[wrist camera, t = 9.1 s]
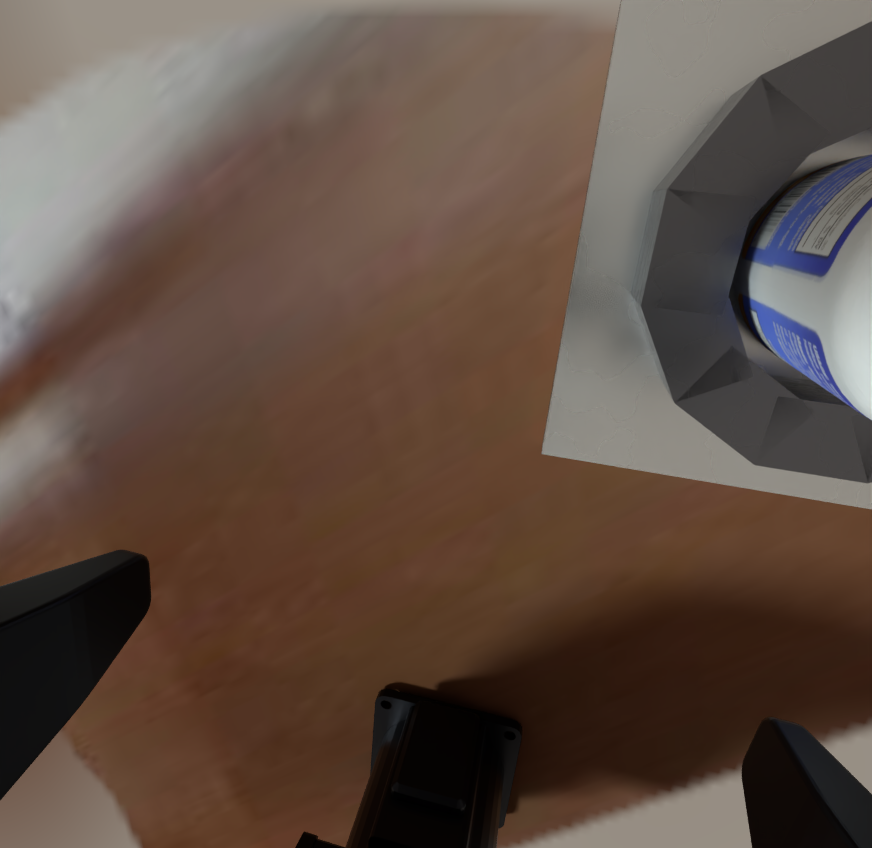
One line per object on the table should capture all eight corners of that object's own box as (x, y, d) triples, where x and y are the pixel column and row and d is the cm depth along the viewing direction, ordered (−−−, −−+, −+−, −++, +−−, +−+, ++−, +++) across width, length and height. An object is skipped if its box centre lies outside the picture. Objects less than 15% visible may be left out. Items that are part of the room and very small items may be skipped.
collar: (993, 519, 18) (1078, 581, 15) (542, 445, 20) (538, 485, 17) (1283, -29, 12) (1505, -102, 10) (628, -46, 15) (645, -110, 12)
